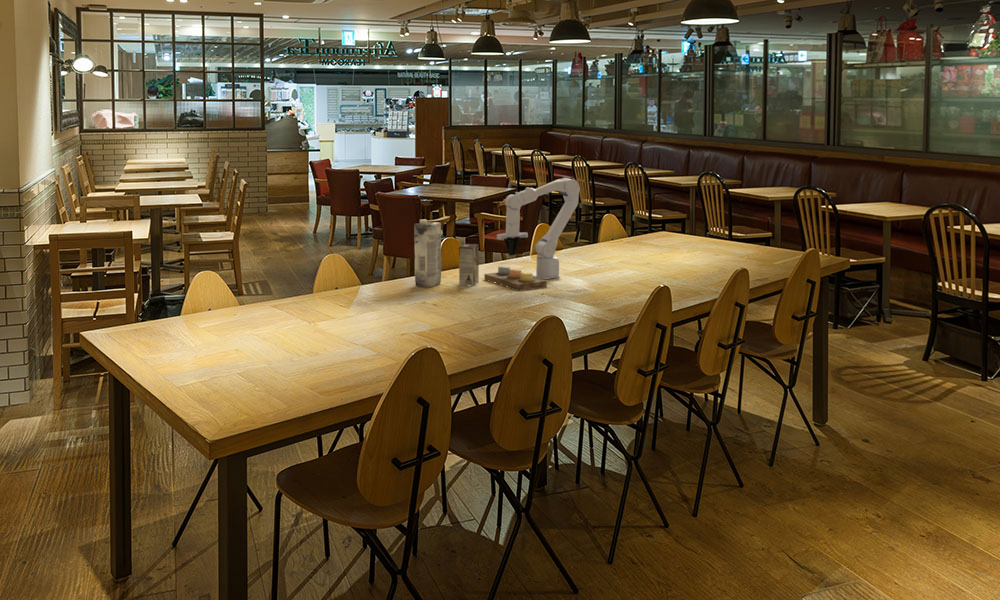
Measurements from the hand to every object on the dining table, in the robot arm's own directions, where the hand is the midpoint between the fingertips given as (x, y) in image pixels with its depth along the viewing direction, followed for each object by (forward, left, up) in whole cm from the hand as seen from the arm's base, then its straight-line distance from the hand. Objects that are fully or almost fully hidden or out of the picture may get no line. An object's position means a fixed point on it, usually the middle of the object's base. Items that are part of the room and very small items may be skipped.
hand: (511, 255), depth 374 cm
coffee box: (+21, -1, -11) cm, 23 cm away
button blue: (+4, 0, -8) cm, 9 cm away
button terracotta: (+4, +8, -8) cm, 12 cm away
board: (+4, +8, -10) cm, 14 cm away
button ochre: (+4, +17, -8) cm, 19 cm away
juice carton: (+37, -7, -11) cm, 39 cm away
